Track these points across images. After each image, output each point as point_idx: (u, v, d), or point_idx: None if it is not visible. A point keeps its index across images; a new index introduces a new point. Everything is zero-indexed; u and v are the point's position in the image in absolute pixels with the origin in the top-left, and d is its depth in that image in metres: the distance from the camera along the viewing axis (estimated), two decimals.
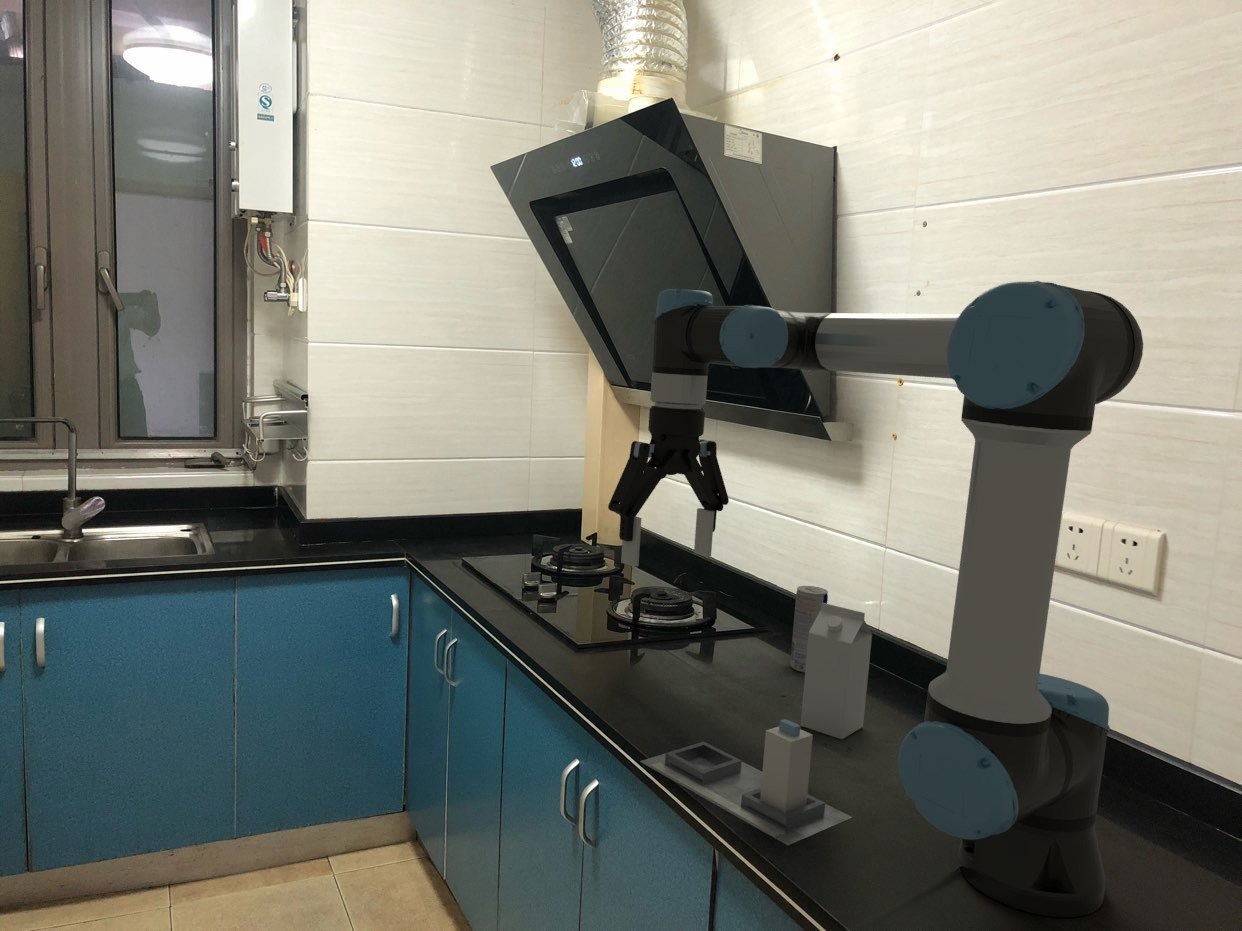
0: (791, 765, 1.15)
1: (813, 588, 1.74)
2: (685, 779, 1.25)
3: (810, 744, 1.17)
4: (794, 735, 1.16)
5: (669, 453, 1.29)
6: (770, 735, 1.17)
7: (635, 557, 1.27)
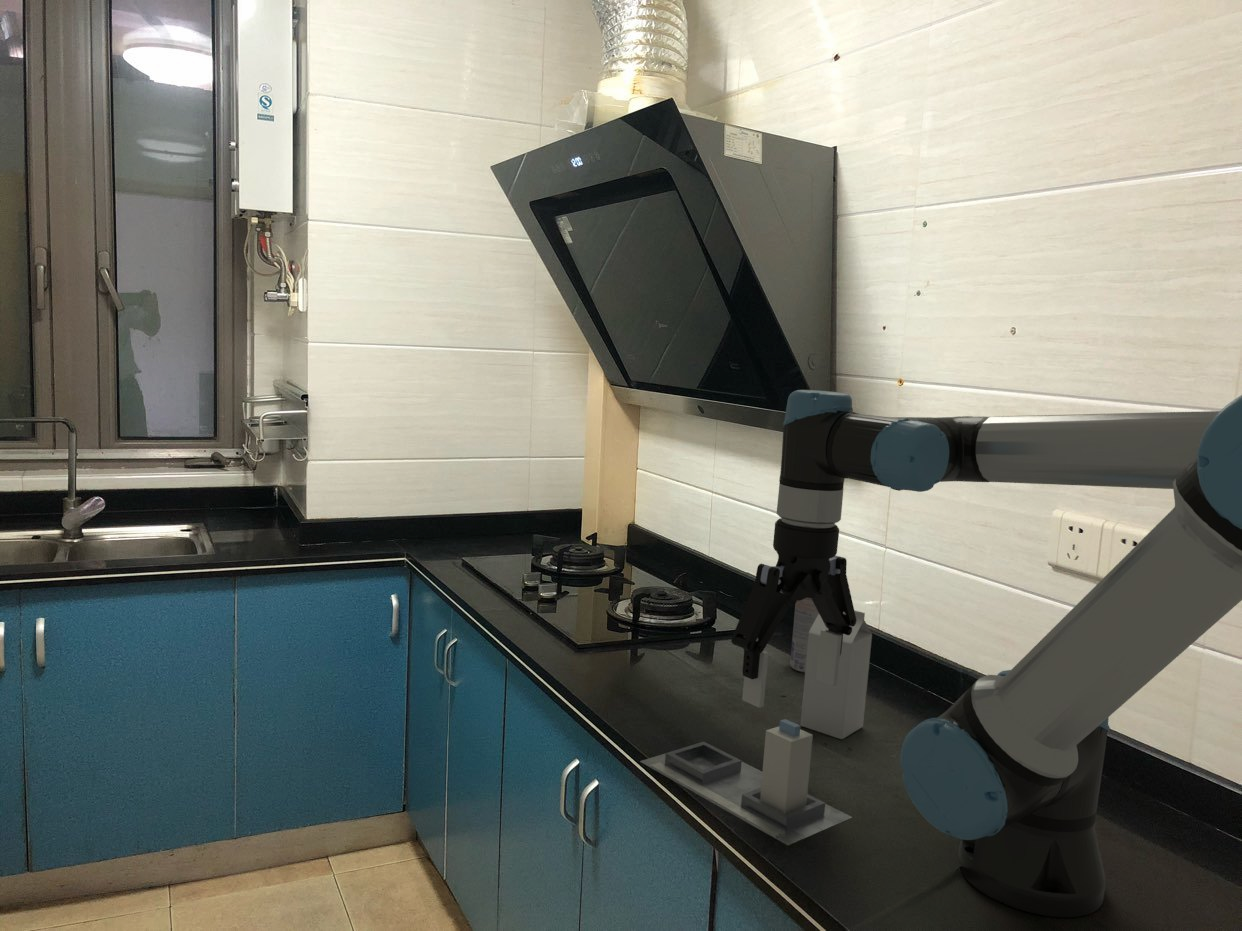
0: (791, 765, 1.15)
1: None
2: (685, 779, 1.25)
3: (810, 744, 1.17)
4: (794, 735, 1.16)
5: (799, 576, 1.13)
6: (770, 735, 1.17)
7: (760, 697, 1.11)
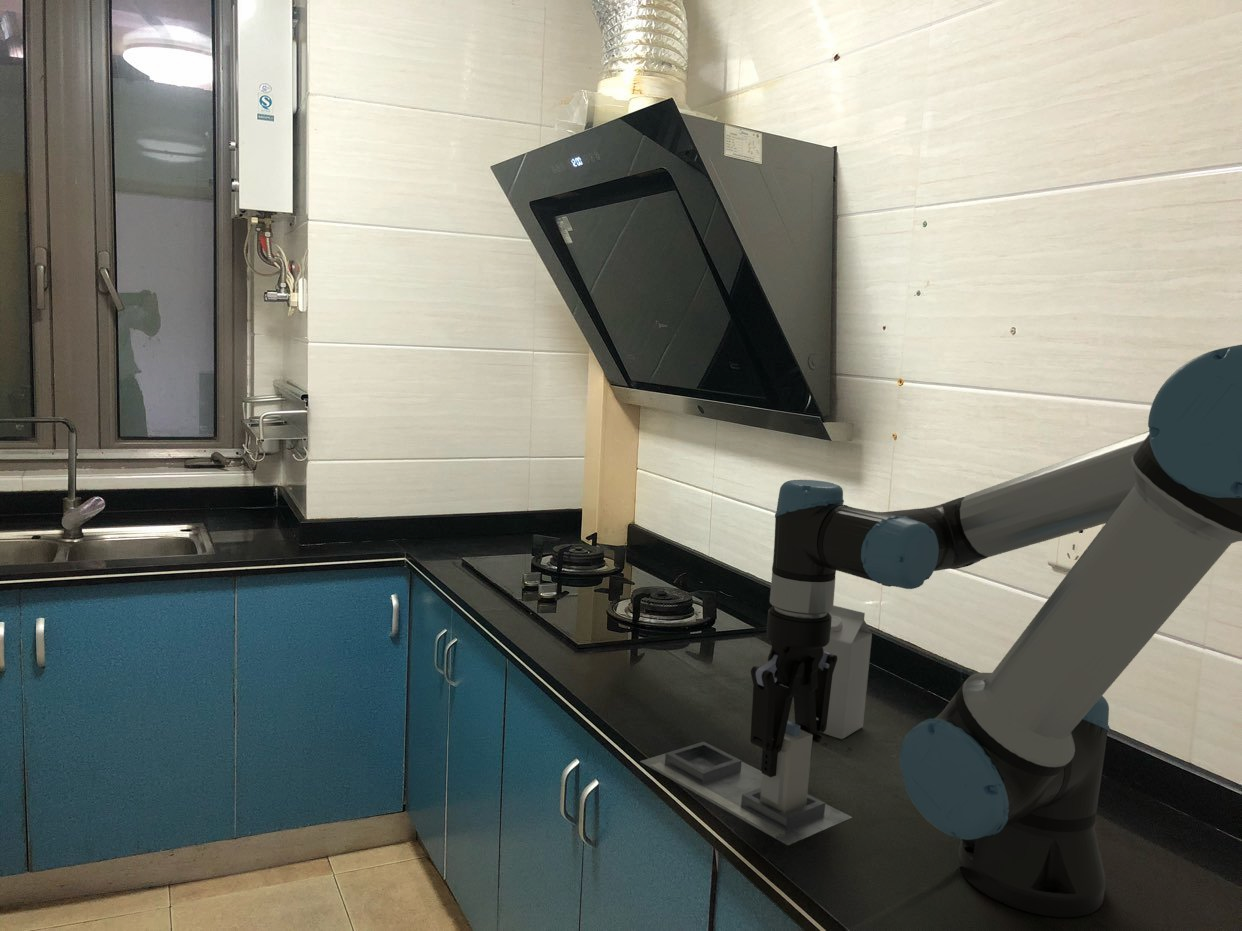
0: (791, 765, 1.15)
1: None
2: (685, 779, 1.25)
3: (810, 744, 1.17)
4: (794, 735, 1.16)
5: (792, 668, 1.14)
6: None
7: (778, 794, 1.16)
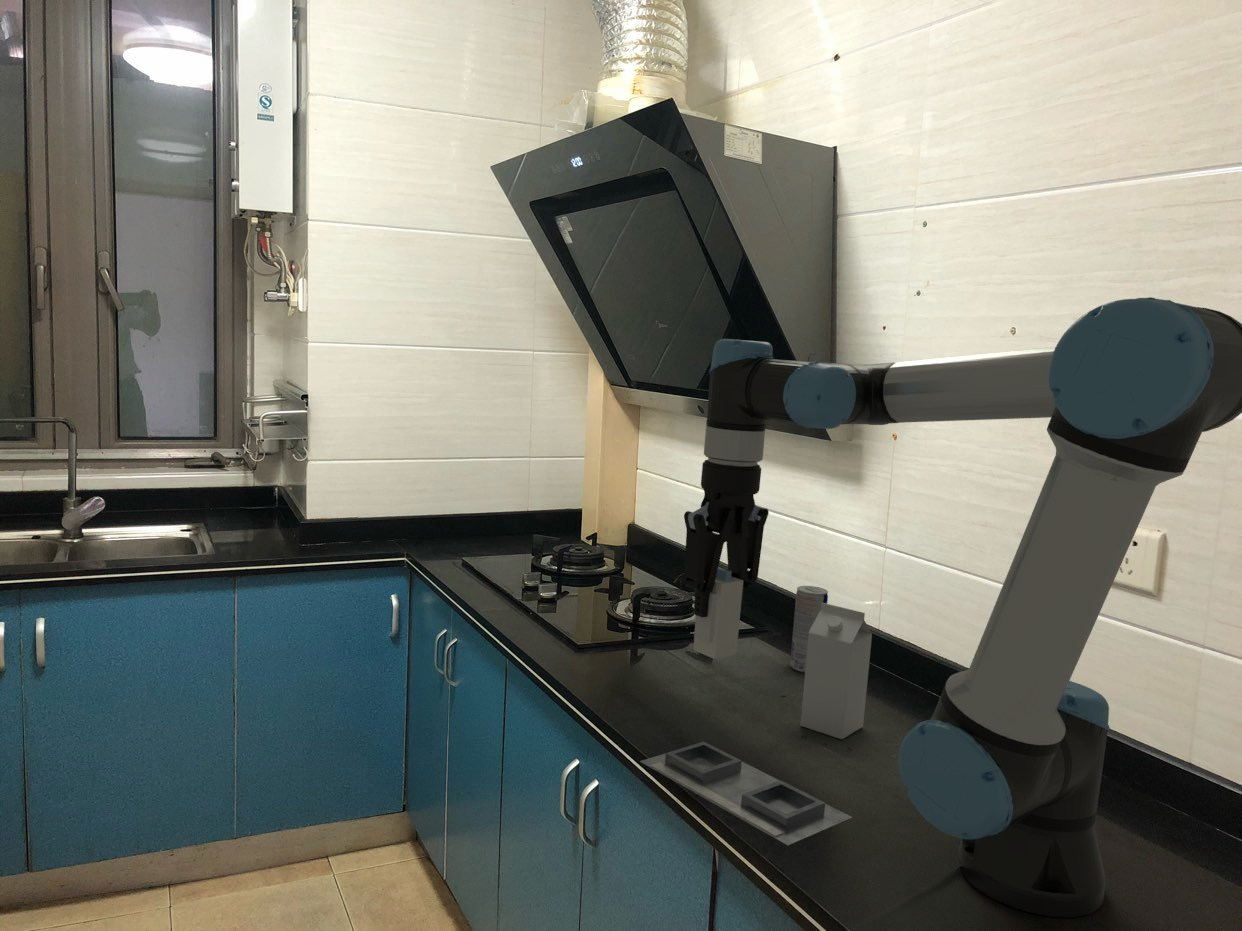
0: (722, 606, 1.23)
1: (813, 588, 1.74)
2: (685, 779, 1.25)
3: (740, 589, 1.25)
4: (725, 579, 1.24)
5: (723, 514, 1.22)
6: None
7: (709, 634, 1.24)
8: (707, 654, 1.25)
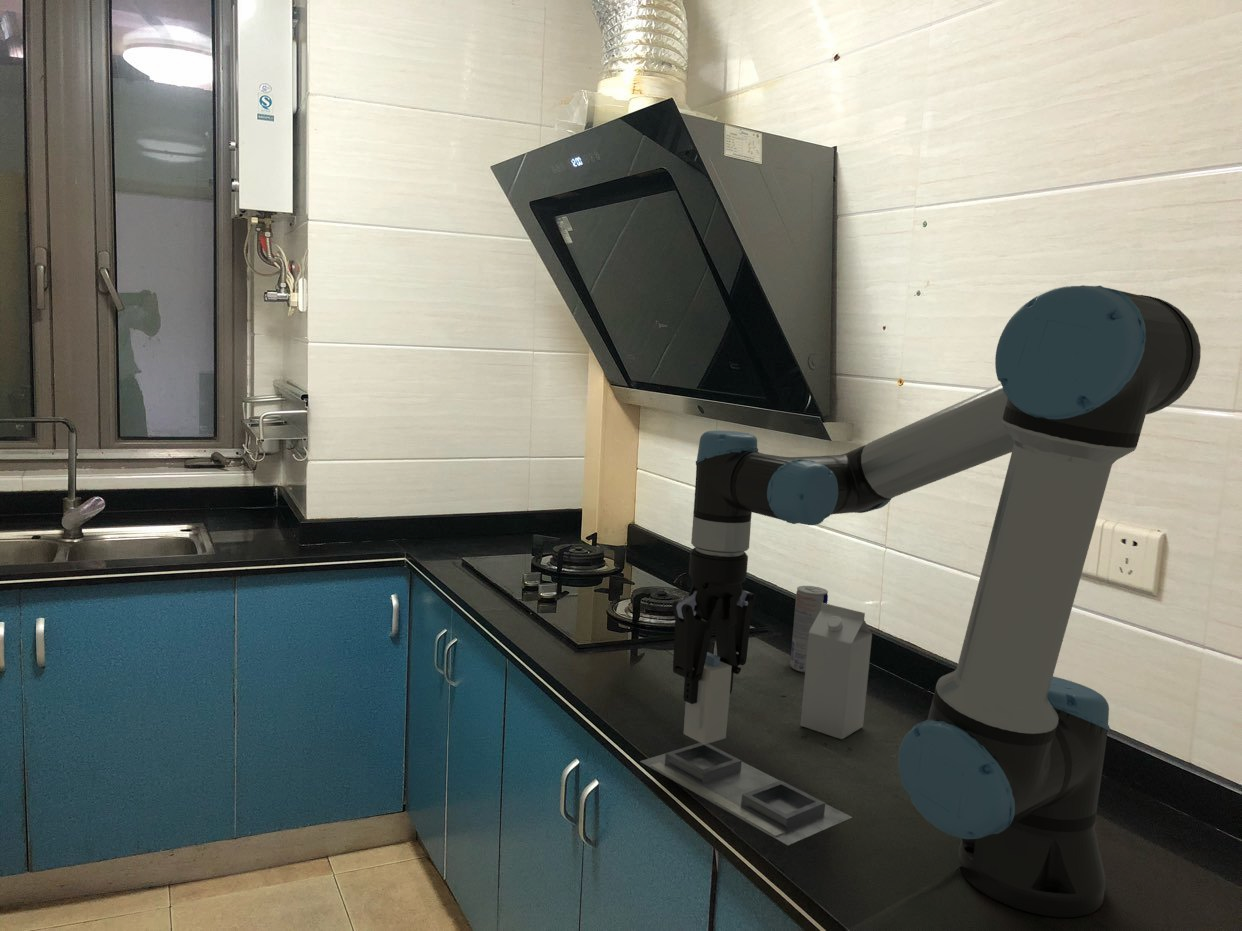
0: (711, 692, 1.25)
1: (813, 588, 1.74)
2: (685, 779, 1.25)
3: (729, 675, 1.27)
4: (714, 666, 1.26)
5: (711, 603, 1.24)
6: None
7: (699, 720, 1.26)
8: (697, 739, 1.27)
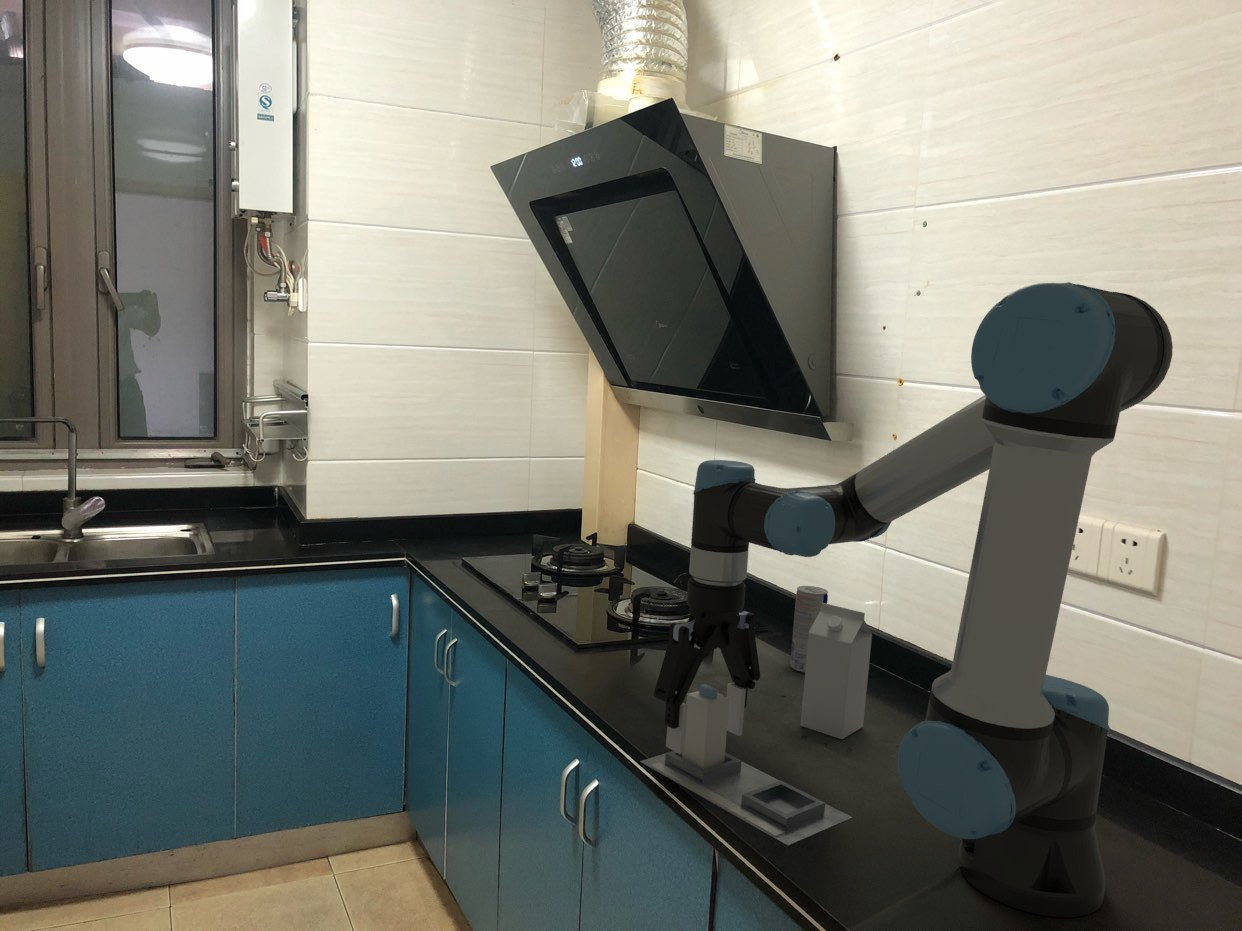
0: (708, 725, 1.26)
1: (813, 588, 1.74)
2: (685, 779, 1.25)
3: (727, 707, 1.28)
4: (712, 698, 1.27)
5: (709, 630, 1.25)
6: (690, 698, 1.28)
7: (681, 745, 1.24)
8: None
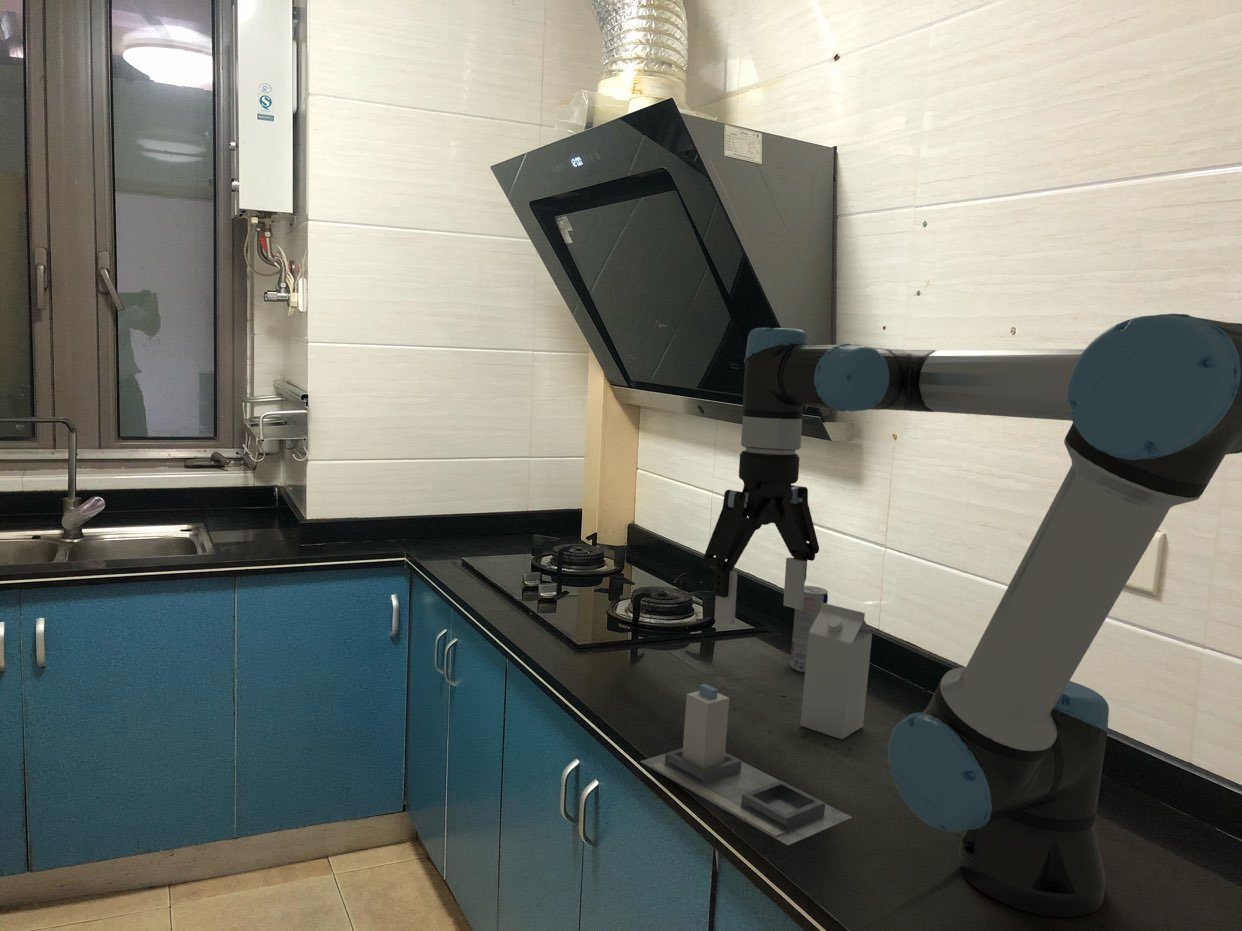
0: (708, 725, 1.26)
1: (813, 588, 1.74)
2: (685, 779, 1.25)
3: (727, 707, 1.28)
4: (712, 698, 1.27)
5: (764, 501, 1.21)
6: (690, 698, 1.28)
7: (731, 614, 1.19)
8: None
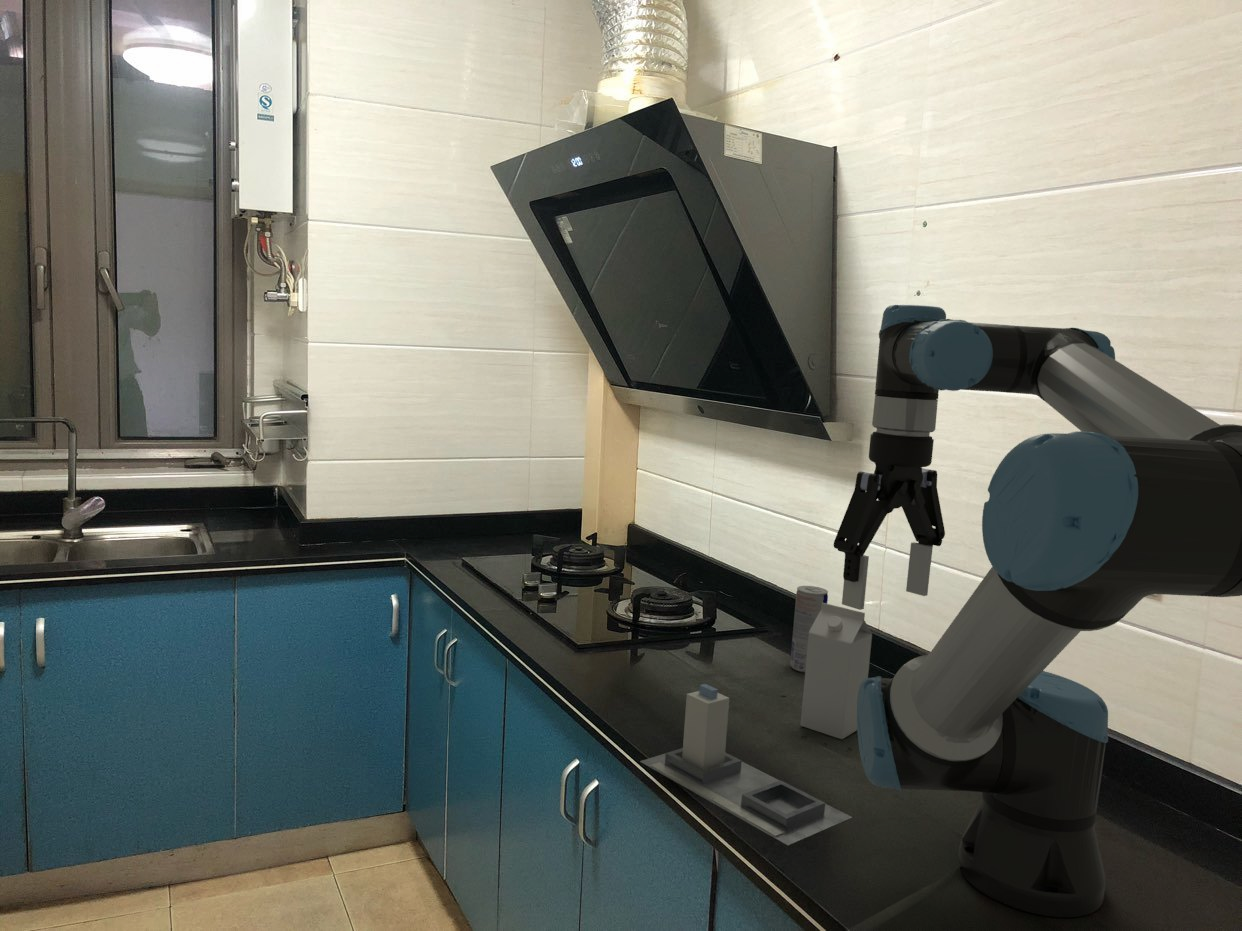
0: (708, 725, 1.26)
1: (813, 588, 1.74)
2: (685, 779, 1.25)
3: (727, 707, 1.28)
4: (712, 698, 1.27)
5: (896, 484, 1.17)
6: (690, 698, 1.28)
7: (861, 600, 1.16)
8: None
